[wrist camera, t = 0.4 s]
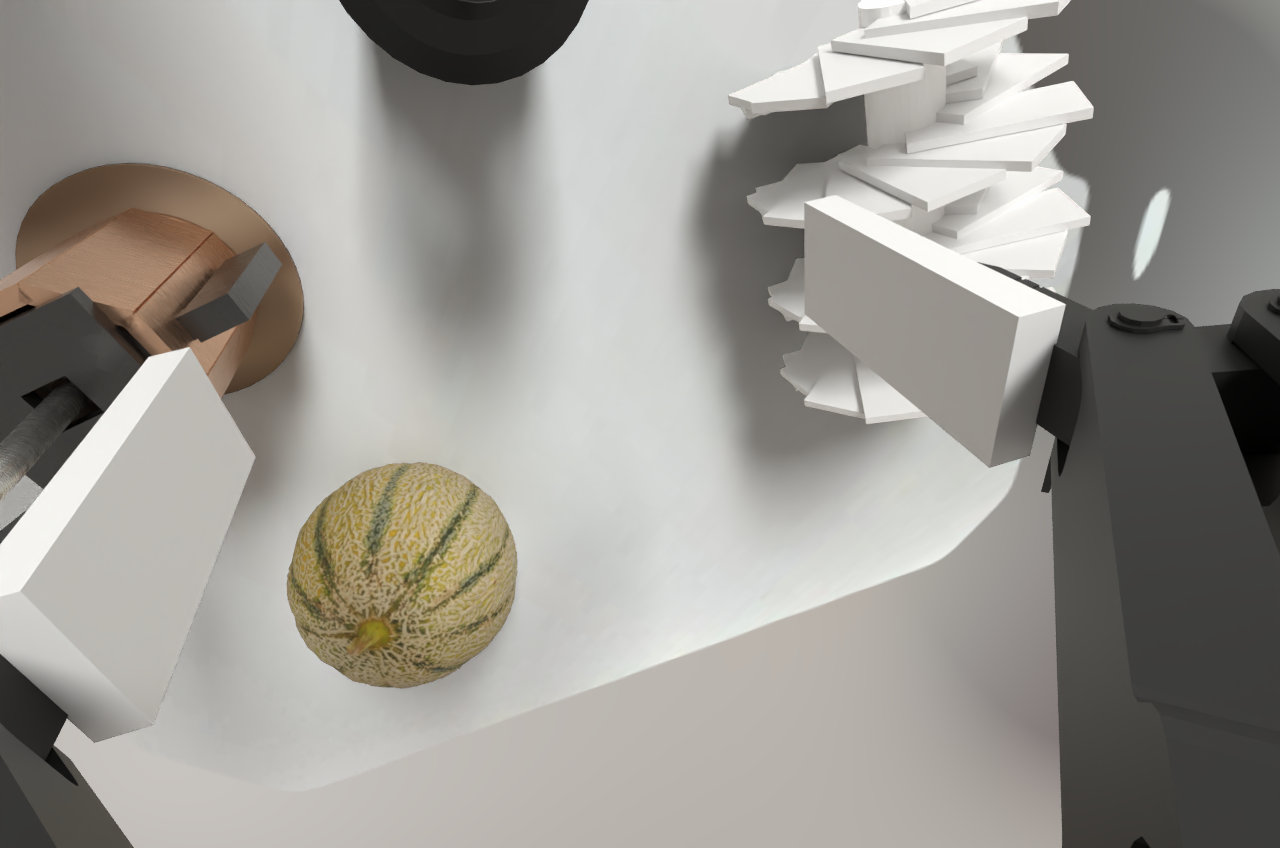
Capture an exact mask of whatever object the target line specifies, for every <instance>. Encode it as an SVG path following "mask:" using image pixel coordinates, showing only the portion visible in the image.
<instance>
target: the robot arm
mask: <svg viewBox="0 0 1280 848" xmlns="http://www.w3.org/2000/svg"><path fill="white" fill-rule="evenodd" d="M804 255H805V315H806V316H808V317H809V318H810V319H811V320H812V321H814V322H815V323H816V324H817V325H818V326H820V327H821V328H822V329H823V330H824V331H826V332H827V333H828V334H829V335H830V336H832V337H833V338H834V339H835V340H836V341H838V342H839V343H840V344H841V345H842V346H844V347H845V348H846V349H847V350H848V351H850V352H851V353H852V354H853V355H854V356H856V357H857V358H858V359H859V360H860V361H862V362H863V363H864V364H865V365H866V366H868V367H869V368H870V369H871V370H872V371H874V372H875V373H876V374H877V375H878V376H880V377H881V378H882V379H883V380H884V381H886V382H887V383H888V384H889V385H890V386H892V387H893V388H894V389H895V390H896V391H898V392H899V393H900V394H901V395H903V396H904V397H905V398H906V399H907V400H909V401H910V402H911V403H912V404H913V405H915V406H916V407H917V408H918V409H919V410H921V411H922V412H923V413H924V414H925V415H927V416H928V417H929V418H930V419H931V420H933V421H934V422H935V423H936V424H937V425H939V426H940V427H941V428H942V429H943V430H945V431H946V432H947V433H948V434H949V435H951V436H952V437H953V438H954V439H955V440H957V441H958V442H959V443H960V444H961V445H963V446H964V447H965V448H966V449H967V450H969V451H970V452H971V453H972V454H973V455H975V456H976V457H977V458H978V459H979V460H981V461H982V462H983V463H984V464H985V465H987V466H988V467H989V468H991V467H994V466H997V465H1000V464H1004V463H1007V462H1010V461H1013V460H1017V459H1020V458H1023V457H1026V456H1030V453H1031V449H1032V444H1033V440H1034V436H1035V432H1036V427H1037V424H1038V425H1039V426H1041V427H1043V428H1044V429H1045V430H1047V431H1048V432H1050V433H1051V434H1053V435H1054V436H1055V441H1054V444H1053V448H1052V452H1051V456H1050V460H1049V464H1048V467H1047V471H1046V475H1045V479H1044V483H1043V487H1042V490H1041V492H1046V493H1049V491H1050V489H1052V521H1053V550H1054V551H1053V553H1054V585H1055V614H1056V615H1055V616H1056V649H1057V681H1058V712H1059V743H1060V774H1061V776H1060V777H1061V808H1062V848H1280V289H1271V290H1263V291H1256V292H1253V293H1250V294H1248V295H1245V296H1243V298H1242V300H1241V301H1240V303H1239V306H1238V309H1237V311H1236V313H1235V316H1234V318H1233V321H1232V324H1227V325H1215V326H1202V327H1194V326H1193V325H1192V323H1191V322H1190V321H1189V320H1188V319H1187V318H1185V317H1184V316H1182V315H1179V314H1177V313H1176V312H1173V311H1171V310H1167V309H1163V308H1160V307H1156V306H1150V305H1141V304H1112V305H1108V306H1103V307H1098V308H1097V309H1095V310H1091V309H1089V308H1087V307H1085V306H1083V305H1081V304H1079V303H1076V302H1074V301H1072V300H1070V299H1068V298H1066V297H1063V296H1061V295H1059V294H1057V293H1055V292H1053V291H1051V290H1048V289H1046V288H1044V287H1043V288H1040V287H1039V285H1038V284H1036V283H1033V282H1031V281H1029V280H1027V279H1024V280H1022V277H1020V276H1018V275H1016V274H1014V273H1012V272H1010V271H1008V270H1005V269H1003V268H1001V267H997V266H993V265H988V264H984V263H979V262H976V261H973V260H971V259H969V258H967V257H965V256H963V255H961V254H959V253H957V252H954V251H952V250H950V249H948V248H946V247H944V246H942V245H940V244H938V243H936V242H933V241H931V240H929V239H927V238H925V237H923V236H921V235H919V234H917V233H915V232H912V231H910V230H908V229H906V228H904V227H902V226H900V225H898V224H896V223H893V222H891V221H889V220H887V219H885V218H883V217H881V216H879V215H877V214H875V213H872V212H870V211H868V210H866V209H864V208H862V207H860V206H858V205H856V204H854V203H851V202H849V201H847V200H845V199H843V198H841V197H839V196H837V195H833V196H829V197H825V198H821V199H816V200H812V201H808V202H804ZM255 458H256V457H255V455H254V453H253V452H252V450H251V448H250V447H249V445H248V443H247V442H246V440H245V438H244V437H243V435H242V433H241V432H240V430H239V428H238V427H237V425H236V423H235V422H234V420H233V418H232V417H231V415H230V413H229V412H228V410H227V408H226V407H225V405H224V403H223V402H222V400H221V398H220V397H219V395H218V393H217V392H216V390H215V388H214V387H213V385H212V383H211V382H210V380H209V378H208V377H207V375H206V373H205V372H204V370H203V368H202V367H201V365H200V363H199V361H198V360H197V358H196V356H195V355H194V353H193V351H192V350H191V348H190V347H188V348H184V349H180V350H176V351H171V352H167V353H163V354H159V355H154V356H150V357H148V359H147V360H146V361H145V362H144V364H143V365H142V366H141V367H140V369H139V370H138V371H137V372H136V374H135V375H134V376H133V377H132V379H131V380H130V381H129V382H128V384H127V385H126V386H125V388H124V389H123V390H122V391H121V393H120V394H119V395H118V396H117V398H116V399H115V400H114V401H113V403H112V404H111V405H110V406H109V408H108V409H107V410H106V412H105V413H104V414H103V415H102V417H101V418H100V419H99V420H98V422H97V423H96V424H95V425H94V427H93V428H92V429H91V430H90V432H89V433H88V434H87V436H86V437H85V438H84V439H83V441H82V442H81V443H80V444H79V446H78V447H77V448H76V449H75V451H74V452H73V453H72V454H71V456H70V457H69V458H68V460H67V461H66V462H65V463H64V465H63V466H62V467H61V468H60V470H59V471H58V472H57V473H56V475H55V476H54V477H53V478H52V480H51V481H50V482H49V483H48V485H47V486H46V487H45V489H44V490H43V491H42V492H41V494H40V495H39V496H38V497H37V499H36V500H35V501H34V502H33V504H32V505H31V506H30V507H29V509H27V510H26V511H25V512H24V513H22V514H21V515H20V516H19V517H17V518H16V519H15V520H13V521H12V522H11V523H10V524H8V525H7V526H6V527H5V528H3V529H2V530H1V531H0V848H133V846H132V845H131V844H130V842H129V840H128V839H127V838H126V836H125V835H124V834H123V832H122V831H121V829H120V828H119V827H118V825H117V824H116V822H115V821H114V819H113V818H112V817H111V815H110V814H109V813H108V811H107V810H106V808H105V807H104V806H103V804H102V803H101V801H100V800H99V799H98V797H97V796H96V794H95V793H94V792H93V790H92V789H91V788H90V786H89V785H88V783H87V782H86V781H85V779H84V778H83V776H82V775H81V773H80V772H79V771H78V769H77V768H76V767H75V765H74V764H73V762H72V761H71V760H70V759H69V758H68V757H67V756H66V755H65V754H63V753H62V752H61V751H60V750H59V749H57V748H56V747H55V746H54V742H55V741H56V739H57V737H58V735H59V733H60V731H61V729H62V727H63V725H64V723H65V721H66V719H69V720H70V721H71V722H72V723H73V724H74V725H75V726H76V727H78V728H79V729H80V730H81V731H82V732H83V733H84V734H85V735H86V736H87V737H89V738H90V739H91V740H92V741H93V742H94V743H95V742H99V741H101V740H105V739H108V738H112V737H115V736H118V735H121V734H125V733H128V732H131V731H134V730H138V729H141V728H144V727H147V726H151V725H153V724H154V722H155V719H156V716H157V714H158V711H159V709H160V706H161V703H162V701H163V698H164V695H165V693H166V690H167V688H168V685H169V682H170V680H171V677H172V675H173V672H174V669H175V667H176V664H177V662H178V659H179V656H180V654H181V651H182V648H183V646H184V643H185V641H186V638H187V635H188V633H189V630H190V628H191V625H192V622H193V620H194V617H195V614H196V612H197V609H198V607H199V604H200V601H201V599H202V596H203V594H204V591H205V588H206V586H207V583H208V581H209V578H210V575H211V573H212V570H213V567H214V565H215V562H216V560H217V557H218V554H219V552H220V549H221V547H222V544H223V541H224V539H225V536H226V533H227V531H228V528H229V526H230V523H231V520H232V518H233V515H234V513H235V510H236V507H237V505H238V502H239V499H240V497H241V494H242V492H243V489H244V486H245V484H246V481H247V479H248V476H249V473H250V471H251V468H252V466H253V463H254V460H255Z"/></svg>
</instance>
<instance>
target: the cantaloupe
mask: <svg viewBox="0 0 1280 848" xmlns="http://www.w3.org/2000/svg"><path fill="white" fill-rule="evenodd" d="M515 549H516V548H515V543H514V539H513V535H512V533H511V530H510V529H509V526H508V524H507V522H506V520H505V518H504V516H503V514H502V512H501V511H500V509H499V508H498V506H497V504H496V503H495V501H494V500H493V499H492V497H491V496H489V495H487V494H486V493H485V492H483V491H482V490H481V489H480V488H479V487H477V486H476V485H475V484H473V483H472V482H471V481H469V480H468V479H467V478H465V477H464V476H462V475H460V474H458V473H456V472H453V471H451V470H449V469H446V468H444V467H442V466H438V465H434V464H428V463H420V462H418V463H414V464H407V463H401V464H388V465H386V466H383V467H378V468H373V469H371V470H368V471H365V472H363V473H360V474H359V475H357V476H356V477H354V478H353V479H351V480H349V481H348V482H347V483H345V484H344V485H342V486H341V487H340V488H339V489H338V490H336V491H334V492H333V493H332V494H331V495H329V496H328V497H326V498H325V499H324V500H323V501H322V503H321V504H320V505H319V506H317V507H316V509H315V510H314V511H313V512H312V514H311V515H310V517H309V518H308V520H307V521H306V523H305V524H304V526H303V527H302V528H301V530H300V532H299V535H298V538H297V542H296V546H295V550H294V554H293V559H292V563H291V565H290V567H289V573H288V575H287V577H288V580H287V596H288V601H289V605H290V608H291V611H292V613H293V614H294V616H295V621H296V626H297V629H298V631H299V633H300V635H301V637H302V638H303V640H304V641H305V643H306V645H307V647H308V648H309V649H310V650H312V651H313V652H314V653H315V654H316V655H317V656H318V658H319V659H320V660H321V661H323V662H324V663H326V664H328V665H330V666H332V667H334V668H335V669H337V670H338V671H339V672H341V673H342V674H343V675H345V676H346V677H348V678H349V679H351V680H352V681H355V682H359V683H364V684H368V685H371V686H379V687H396V688H409V687H414V686H418V685H421V684H426V683H429V682H433V681H435V680H437V679H440V678H443V677H445V676H447V675H449V674H451V673H452V672H454V671H455V670H456V669H459V668H460V667H461V665H463V664H464V663H465V662H467V661H468V660H470V659H471V658H473V657H474V656H476V655H477V654H478V653H480V652H481V651H482V650H484V649H485V648H486V647H487V646H488V644H489V643H490V642H491V641H492V640H493V638H494V637H495V635H496V634H497V633H498V632H499V631H500V630H501V628H502V626H503V624H504V623H505V621H506V618H507V616H508V614H509V613H510V610H511V606H512V603H513V600H514V594H515V582H516V581H515V580H516V576H517V552H516V550H515Z"/></svg>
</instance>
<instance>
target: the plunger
mask: <svg viewBox="0 0 1280 848" xmlns="http://www.w3.org/2000/svg"><path fill="white" fill-rule="evenodd" d="M116 326H117V327H118V328H119V329H120V330H121V331H122V332H123V333H124V334H125V335H126V336H127V337H128V338H129V339H130V340H131V341H132V342H133V343H134V344H135V345H136V346H137V347H138V348H139V349H140V350H141V352H142V353H143V354H144V355H145V356H146V357H147V358H148V357H150V356H152V355H151V354H150V353H149V352H148V351H147V350H146V349H145V348H144V347H143V346H142V345H141V344H140V343H139V342H138V341H137V340H136V339H135V338H134V337H133V336H132V335H131V334H130V333H129V332H128V330H127V329H126V328H125V327H124V326H119V325H116ZM33 391H35V392H36V393H37V394H38V395H39V396H40V397H41V398H42V399H44V400H43V401H42V402H41V403H40V404H39V405H38V406H37V407H36V408H35V409H34V410H33V411H32V412H31V413H30V414H29V415H28V416H27V417H26V418H25V419H24V420H23V421H22V422H21V423H20V424H19V425H18V426H17V427H16V428H15V429H14V430H13V431H12V432H11V433H10V434H9V435H8V436H7V437H6V438H5V439H4V440H3V441H2V442H1V443H0V502H1V501H2V500H3V499H4V498H5V496H6V495H7V494H8V493H9V492H10V491H11V490H12V489H13V487H14V486H15V485H16V484H17V483H18V482H19V481H20V479H21V478H22V477H23V476H24V475H25V474H26V473H27V471H28V470H29V469H30V468H31V467H32V466H33V465H34V463H35V462H36V461H37V460H38V459H39V458H40V457H41V455H42V454H43V453H44V452H45V451H46V450H47V449H48V448H49V446H50V445H51V444H52V443H53V442H54V441H55V440H56V438H57V437H58V436H59V435H60V434H61V433H62V432H63V430H64V429H65V428H66V427H67V426H68V425H69V424H70V423H71V422H74V421H76V420H78V419H80V418H82V417H84V416H86V415H88V414H90V413H93V412H95V411H97V410H99V409H101V408H99V407H98V406H97V405H96V404H95V403H94V402H93V401H92V400H91V399H90V398H89V397H88V396H87V395H85V394H84V393H83V392H82V391H81V390H80V389H79V388H78V387H77V386H76V385H75V384H74V383H73V382H71V381H70V380H69V379H68V378H67V377H66V376H63V377H61V378H58V379H56V380H54V381H52V382H50V383H48V384H46V385H44V386H42V387H39V388H37V389H35V390H33Z"/></svg>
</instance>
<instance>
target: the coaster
mask: <svg viewBox="0 0 1280 848" xmlns="http://www.w3.org/2000/svg"><path fill="white" fill-rule="evenodd" d="M130 208H136V209H140V210H143V211H147V212H156V213H163V214H168V215H172V216H176V217H180V218H182V219H185V220H188V221H191V222H193V223H195V224H197V225H199V226H201V227H203V228H205V229H208V230H211V231H213V233H214V232H215V233H216V234H217V236H218V237H219V238H220V239H221V240H223V241H224V242H225V243H226V244H227V245H228V246H229V247H230V248H232V249H233V251H234V252H235V253H236V254H237V255H238V254H240V253H242V252H244V251H246V250H248V249H251V248H253V247H255V246H257V245H259V244H261V243H263V242H266V243H267V245H268V246H269V247H270V249H271V250H272V251H273V253H274V254H275V255H276V257H277V258H278V259H279V261H280V262H281V263H282V266H281V267H280V269H279V271H278V272H277V274H276V276H275V277H274V279H273V281H272V283H271V284H270V286H269V288H268V289H267V291H266V293H265V294H264V296H263V298H262V299H261V301H260V303H259V304H258V312H257V318H256V321H255V324H254V327H253V333H252V339H251V344H250V347H249V349H248V351H247V352H246V354H245V356H244V358H243V360H242V362H241V364H240V365H239V367H238V369H237V371H236V373H235V375H234V376H233V378H232V380H231V382H230V384H229V386H228V387H227V389H226V391H225V393H224V394H228V393H231V392H235V391H238V390H241V389H243V388H246V387H248V386H251V385H253V384H254V383H256V382H258V381H260V380H262V379H263V378H265V377H266V376H267V375H269V374H270V373H271V372H273V371H274V370H275V369H276V368H277V367H278V366H279V365H280V364H281V363H282V362H283V361H284V359H285V358H286V356H287V355H288V354H289V352H290V351H291V349H292V347H293V345H294V343H295V341H296V339H297V336H298V333H299V330H300V327H301V323H302V317H303V309H304V307H303V292H302V286H301V281H300V278H299V275H298V272H297V268H296V266H295V264H294V262H293V260H292V257H291V255H290V253H289V251H288V250H287V248H286V247H285V245H284V244H283V242H282V241H281V239H280V238H279V236H278V235H277V234H276V233H275V231H274V230H273V229H272V228H271V227H270V225H269V224H268V223H267V222H266V221H265V220H264V219H263V218H262V217H261V216H260V215H259V214H258V213H257V212H256V211H254V210H253V209H252V208H251V207H249V206H248V205H247V204H246V203H244V202H243V201H242V200H240V199H239V198H237V197H236V196H234V195H233V194H231V193H230V192H228V191H226V190H225V189H223V188H221V187H219V186H217V185H215V184H213V183H211V182H209V181H207V180H205V179H203V178H200V177H197V176H195V175H192V174H190V173H187V172H184V171H180V170H176V169H172V168H168V167H164V166H157V165H150V164H137V163H122V164H110V165H104V166H99V167H94V168H90V169H87V170H84V171H82V172H79V173H76V174H74V175H71V176H69V177H67V178H65V179H63V180H62V181H60V182H58V183H56V184H55V185H53V186H51V187H50V188H49V189H48V190H47V191H45V192H44V193H43V194H42V195H41V196H39V198H38V199H37V200H36V201H35V202H34V204H33V205H32V206H31V207H30V209H29V210H28V212H27V214H26V216H25V218H24V219H23V221H22V223H21V227H20V230H19V233H18V236H17V243H16V252H15V255H16V269H19V268H20V267H22V266H23V265H25V264H27V263H28V262H30V261H31V260H33V259H35V258H36V257H38V256H39V255H41V254H43V253H44V252H46V251H47V250H49V249H51V248H52V247H54V246H55V245H57V244H59V243H60V242H62V241H63V240H65V239H67V238H68V237H70V236H72V235H75V234H77V233H79V232H81V231H83V230H85V229H87V228H89V227H92V226H94V225H96V224H98V223H99V222H101V221H103V220H105V219H107V218H110V217H113V216H115V215H117V214H119V213H121V212H123V211H125V210H128V209H130Z"/></svg>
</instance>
